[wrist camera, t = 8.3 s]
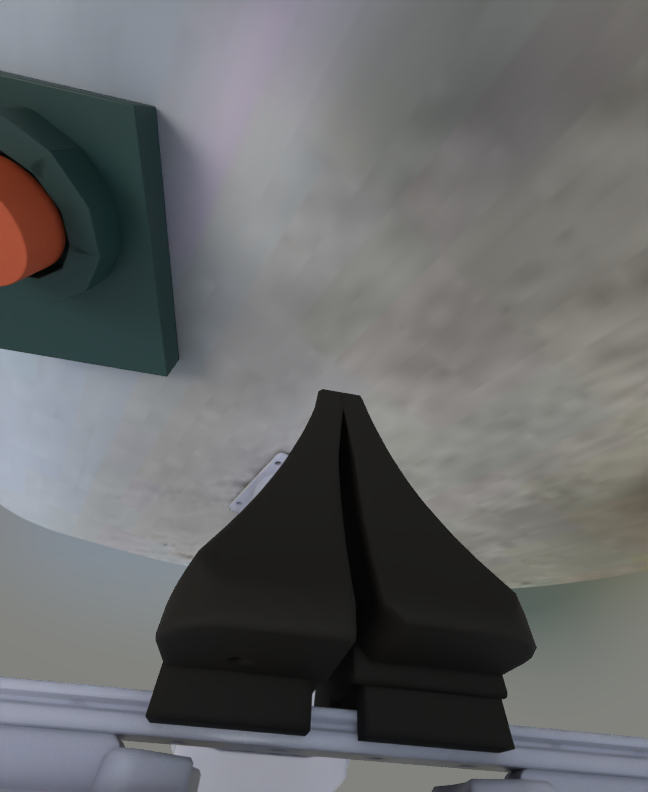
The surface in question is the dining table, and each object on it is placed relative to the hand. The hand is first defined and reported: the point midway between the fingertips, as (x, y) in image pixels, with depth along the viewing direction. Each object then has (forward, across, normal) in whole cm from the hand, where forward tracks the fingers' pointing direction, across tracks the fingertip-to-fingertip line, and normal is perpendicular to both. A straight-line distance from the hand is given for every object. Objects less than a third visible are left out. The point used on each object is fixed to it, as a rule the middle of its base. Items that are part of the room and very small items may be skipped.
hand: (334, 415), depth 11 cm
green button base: (+10, +14, 0) cm, 18 cm away
